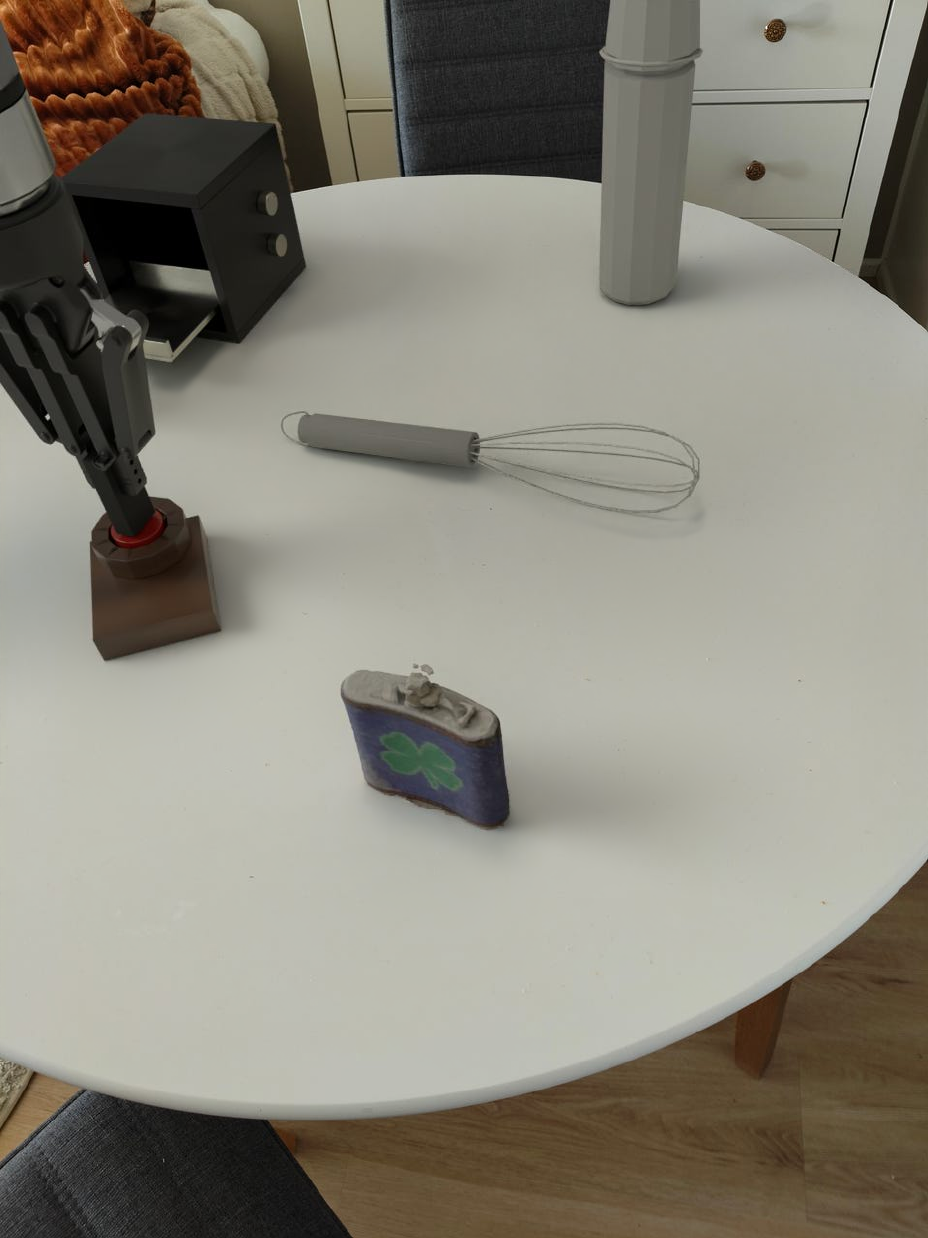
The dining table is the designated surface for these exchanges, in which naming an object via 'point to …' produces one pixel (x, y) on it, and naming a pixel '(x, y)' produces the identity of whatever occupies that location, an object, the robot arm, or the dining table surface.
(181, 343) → the tray
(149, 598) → the brown boxy piece
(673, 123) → the water bottle
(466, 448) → the kitchen whisk
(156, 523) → the button
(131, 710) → the dining table surface
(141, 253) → the oven
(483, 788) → the flask
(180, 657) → the dining table surface
